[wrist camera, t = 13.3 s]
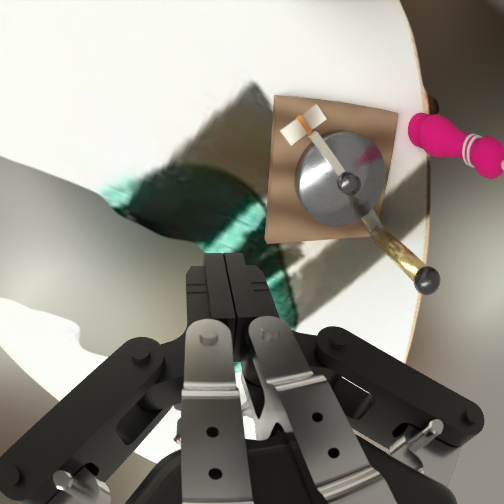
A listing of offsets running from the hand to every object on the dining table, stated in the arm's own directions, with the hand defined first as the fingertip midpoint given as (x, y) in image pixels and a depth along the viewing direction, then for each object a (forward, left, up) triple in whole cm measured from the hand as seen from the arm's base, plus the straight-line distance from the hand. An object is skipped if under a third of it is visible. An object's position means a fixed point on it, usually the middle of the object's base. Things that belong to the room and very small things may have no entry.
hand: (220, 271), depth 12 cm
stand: (+5, +21, -30) cm, 37 cm away
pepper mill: (-4, +38, -30) cm, 48 cm away
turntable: (+7, +23, -28) cm, 36 cm away
